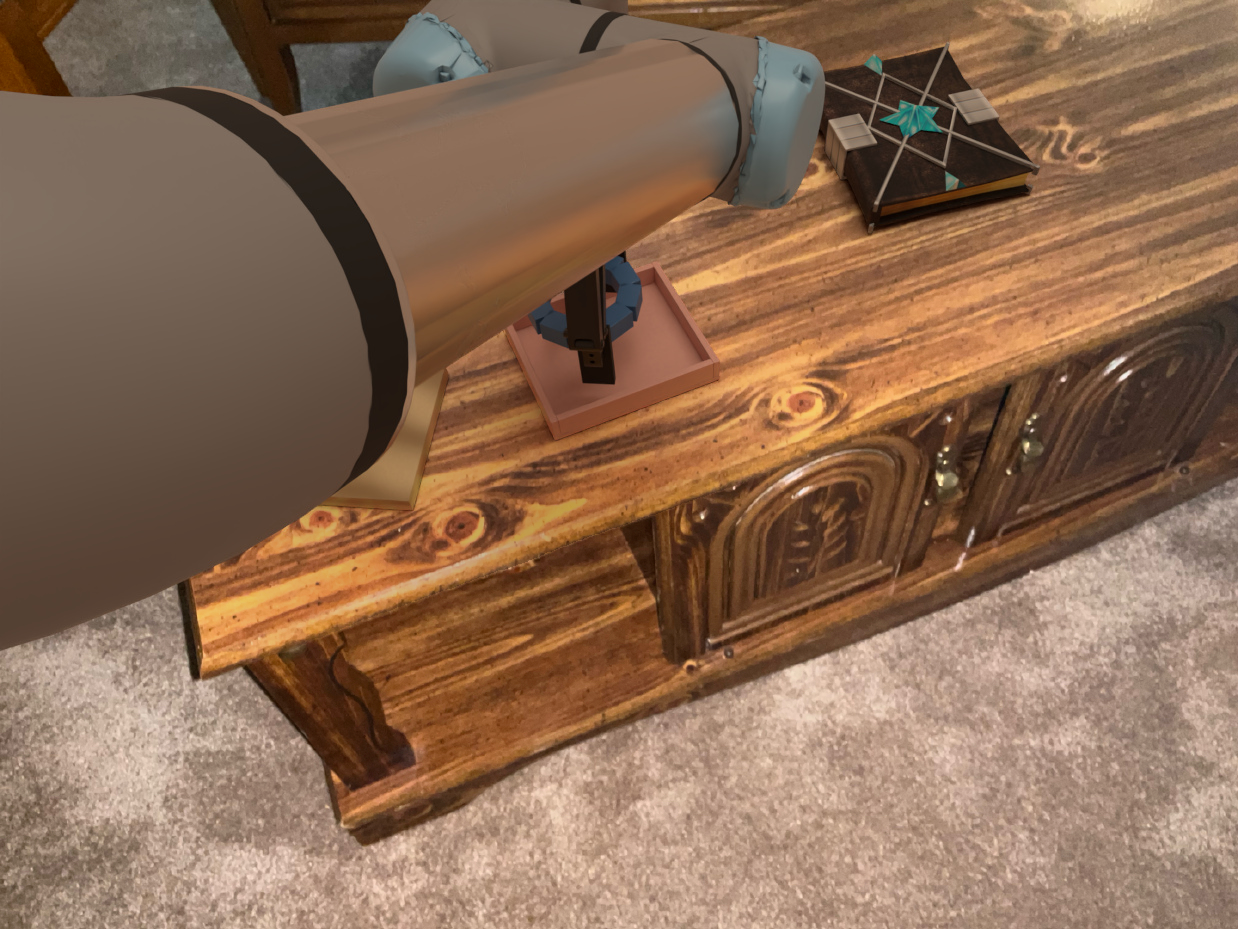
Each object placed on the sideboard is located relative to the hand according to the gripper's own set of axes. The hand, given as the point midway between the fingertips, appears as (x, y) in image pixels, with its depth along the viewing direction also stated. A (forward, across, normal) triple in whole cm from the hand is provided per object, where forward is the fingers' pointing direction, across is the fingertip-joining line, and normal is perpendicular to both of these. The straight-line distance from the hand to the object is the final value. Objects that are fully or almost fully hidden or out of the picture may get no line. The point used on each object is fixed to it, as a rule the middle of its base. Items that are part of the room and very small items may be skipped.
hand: (606, 333), depth 82 cm
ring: (-3, 0, +2) cm, 4 cm away
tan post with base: (+3, -10, +21) cm, 23 cm away
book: (+3, +29, -27) cm, 40 cm away
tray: (+3, 0, 0) cm, 3 cm away
